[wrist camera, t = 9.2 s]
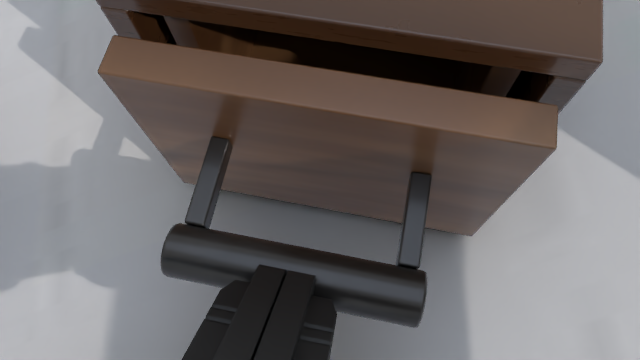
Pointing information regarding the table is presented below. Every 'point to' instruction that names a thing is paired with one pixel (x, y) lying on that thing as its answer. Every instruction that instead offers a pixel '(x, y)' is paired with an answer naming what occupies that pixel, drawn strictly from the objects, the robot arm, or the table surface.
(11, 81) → the table surface
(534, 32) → the cabinet
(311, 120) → the drawer
